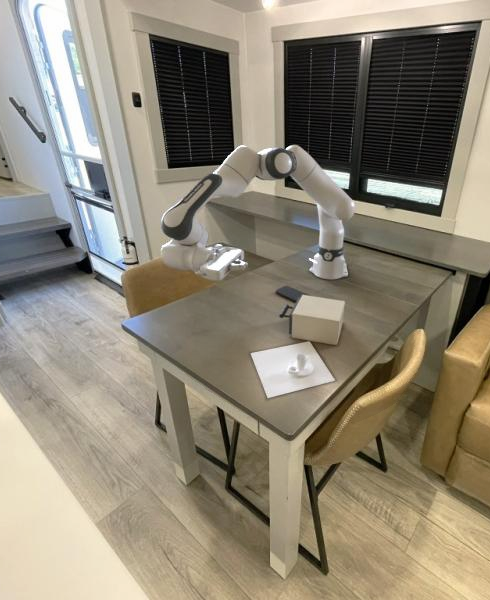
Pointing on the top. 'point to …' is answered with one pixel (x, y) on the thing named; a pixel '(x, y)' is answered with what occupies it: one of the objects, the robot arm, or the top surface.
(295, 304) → the drawer
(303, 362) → the teacup and saucer
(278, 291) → the phone
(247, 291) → the top surface
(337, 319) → the cabinet
